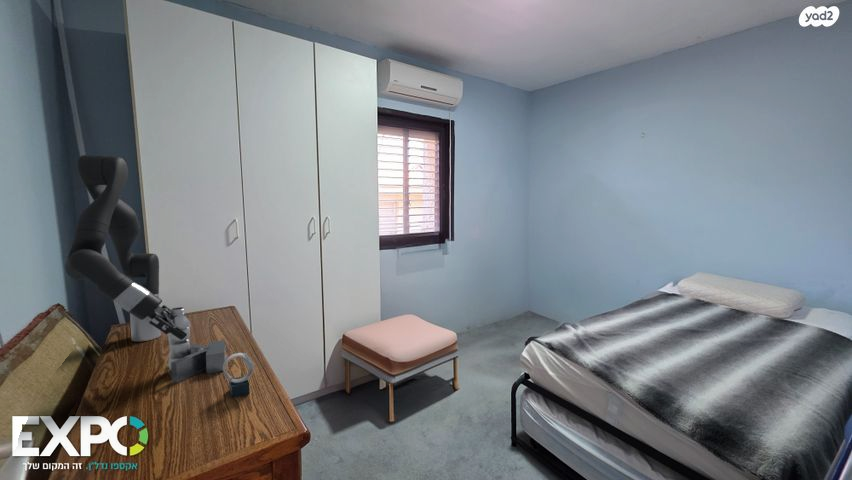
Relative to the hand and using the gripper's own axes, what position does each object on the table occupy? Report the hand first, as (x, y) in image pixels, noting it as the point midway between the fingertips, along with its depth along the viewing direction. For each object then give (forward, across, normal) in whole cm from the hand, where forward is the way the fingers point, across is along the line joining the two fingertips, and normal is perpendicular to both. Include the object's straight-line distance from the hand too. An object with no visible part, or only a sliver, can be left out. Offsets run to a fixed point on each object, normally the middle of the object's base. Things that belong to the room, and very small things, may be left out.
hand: (186, 333), depth 114 cm
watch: (+19, -22, -2) cm, 29 cm away
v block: (+11, 0, +6) cm, 13 cm away
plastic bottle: (+7, 0, +10) cm, 12 cm away
